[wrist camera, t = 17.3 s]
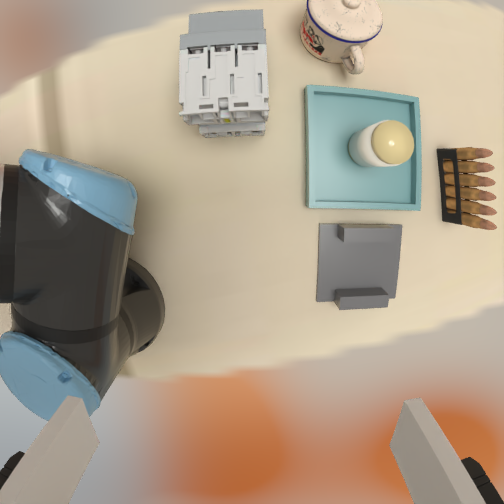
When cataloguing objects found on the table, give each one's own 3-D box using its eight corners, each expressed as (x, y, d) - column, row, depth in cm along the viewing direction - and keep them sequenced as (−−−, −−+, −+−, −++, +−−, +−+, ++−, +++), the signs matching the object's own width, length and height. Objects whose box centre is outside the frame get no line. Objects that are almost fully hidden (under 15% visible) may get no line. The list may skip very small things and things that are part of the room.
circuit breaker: (260, 37, 36) (262, -22, 22) (264, 135, 39) (269, 112, 25) (204, 40, 36) (182, -16, 22) (205, 137, 40) (179, 117, 25)
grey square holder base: (316, 300, 44) (320, 310, 41) (319, 223, 42) (324, 227, 39) (394, 297, 44) (403, 306, 41) (400, 224, 42) (411, 228, 38)
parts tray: (306, 206, 41) (309, 208, 39) (304, 89, 38) (307, 84, 36) (412, 208, 41) (420, 210, 39) (411, 100, 38) (418, 97, 35)
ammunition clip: (436, 148, 39) (486, 144, 28) (446, 148, 39) (496, 144, 28) (442, 221, 42) (491, 236, 30) (451, 219, 42) (501, 234, 30)
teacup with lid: (289, 15, 35) (299, -29, 24) (349, 9, 35) (373, -31, 23) (315, 89, 38) (336, 60, 27) (376, 80, 37) (413, 53, 26)
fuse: (346, 166, 39) (373, 164, 30) (345, 128, 38) (372, 115, 29) (381, 168, 39) (416, 167, 30) (381, 131, 38) (414, 121, 28)
